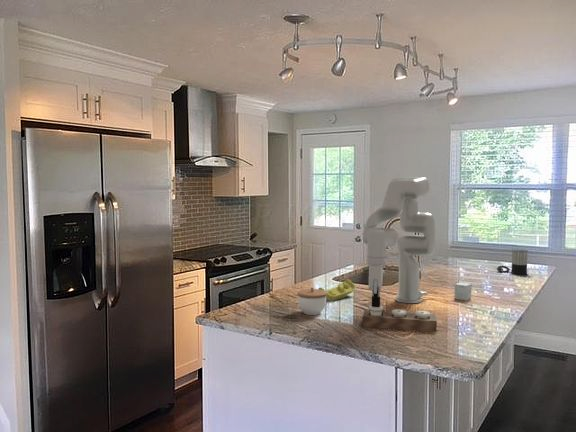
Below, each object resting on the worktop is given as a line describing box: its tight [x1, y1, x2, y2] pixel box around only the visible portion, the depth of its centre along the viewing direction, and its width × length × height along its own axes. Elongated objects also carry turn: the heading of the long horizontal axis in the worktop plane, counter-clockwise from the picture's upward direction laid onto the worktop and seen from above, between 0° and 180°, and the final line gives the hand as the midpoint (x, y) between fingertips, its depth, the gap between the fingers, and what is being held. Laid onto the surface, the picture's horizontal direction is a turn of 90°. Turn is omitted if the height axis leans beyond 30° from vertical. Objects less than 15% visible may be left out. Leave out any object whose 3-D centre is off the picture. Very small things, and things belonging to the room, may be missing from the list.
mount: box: [361, 309, 438, 332], centre depth 192 cm, size 28×10×4 cm, turn 76°
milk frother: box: [496, 248, 529, 276], centre depth 303 cm, size 14×16×15 cm
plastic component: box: [317, 278, 356, 302], centre depth 241 cm, size 20×7×10 cm
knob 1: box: [368, 304, 384, 316], centre depth 194 cm, size 6×6×5 cm
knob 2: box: [391, 308, 407, 317], centre depth 192 cm, size 6×6×5 cm
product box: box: [454, 281, 472, 302], centre depth 236 cm, size 6×6×7 cm
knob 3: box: [414, 310, 431, 319], centre depth 190 cm, size 6×6×5 cm
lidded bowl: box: [297, 287, 327, 316], centre depth 211 cm, size 13×13×11 cm
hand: (375, 306), depth 194 cm, fingers closed
